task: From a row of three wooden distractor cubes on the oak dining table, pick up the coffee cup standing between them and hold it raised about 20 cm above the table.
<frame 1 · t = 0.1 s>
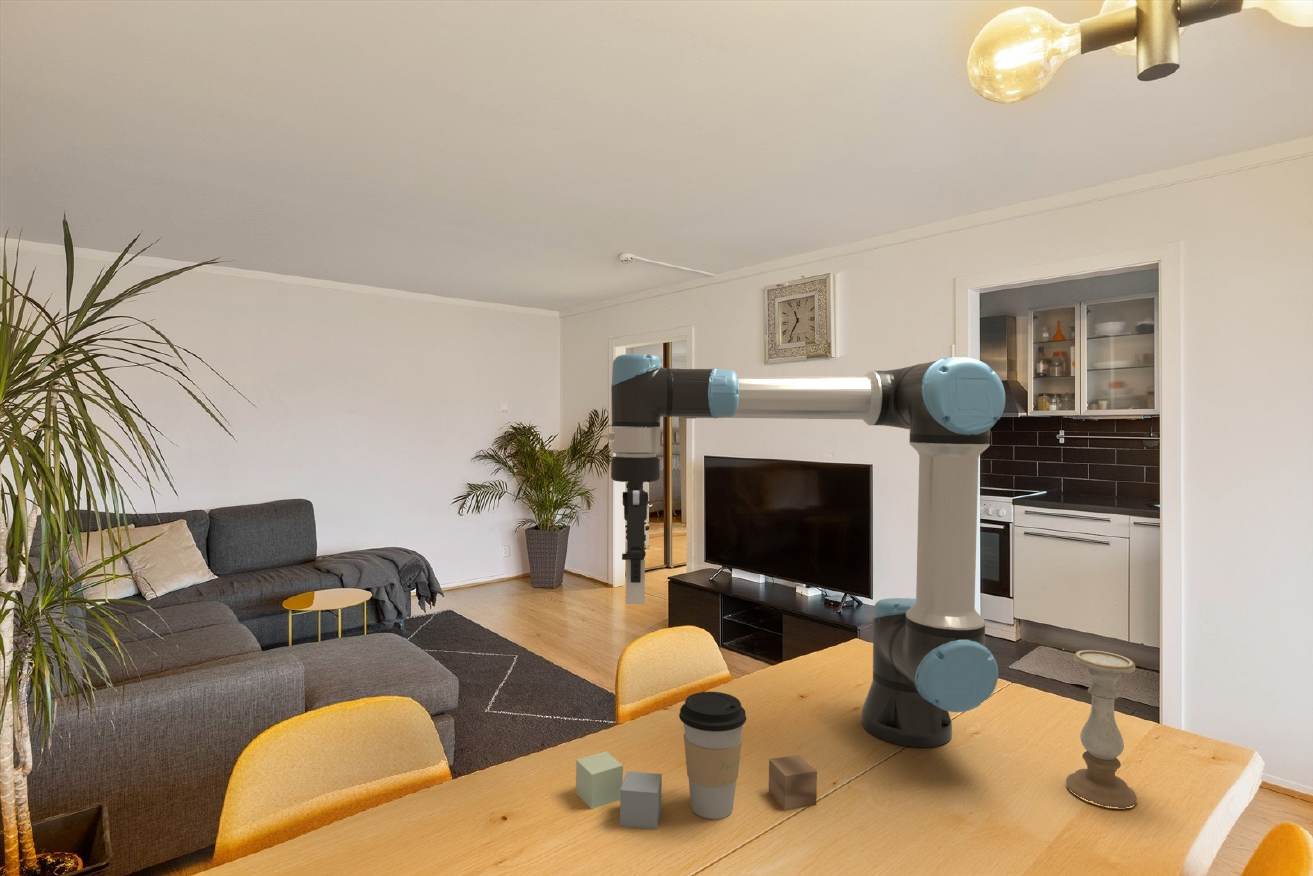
hand: (634, 592, 106), 28 cm above the table, fingers open, 13 cm apart
coffee cup: (711, 808, 97), on the table
slate cube: (641, 817, 94), on the table
candle holder: (1100, 795, 101), on the table
sage cube: (599, 796, 100), on the table
walnut cube: (792, 799, 99), on the table
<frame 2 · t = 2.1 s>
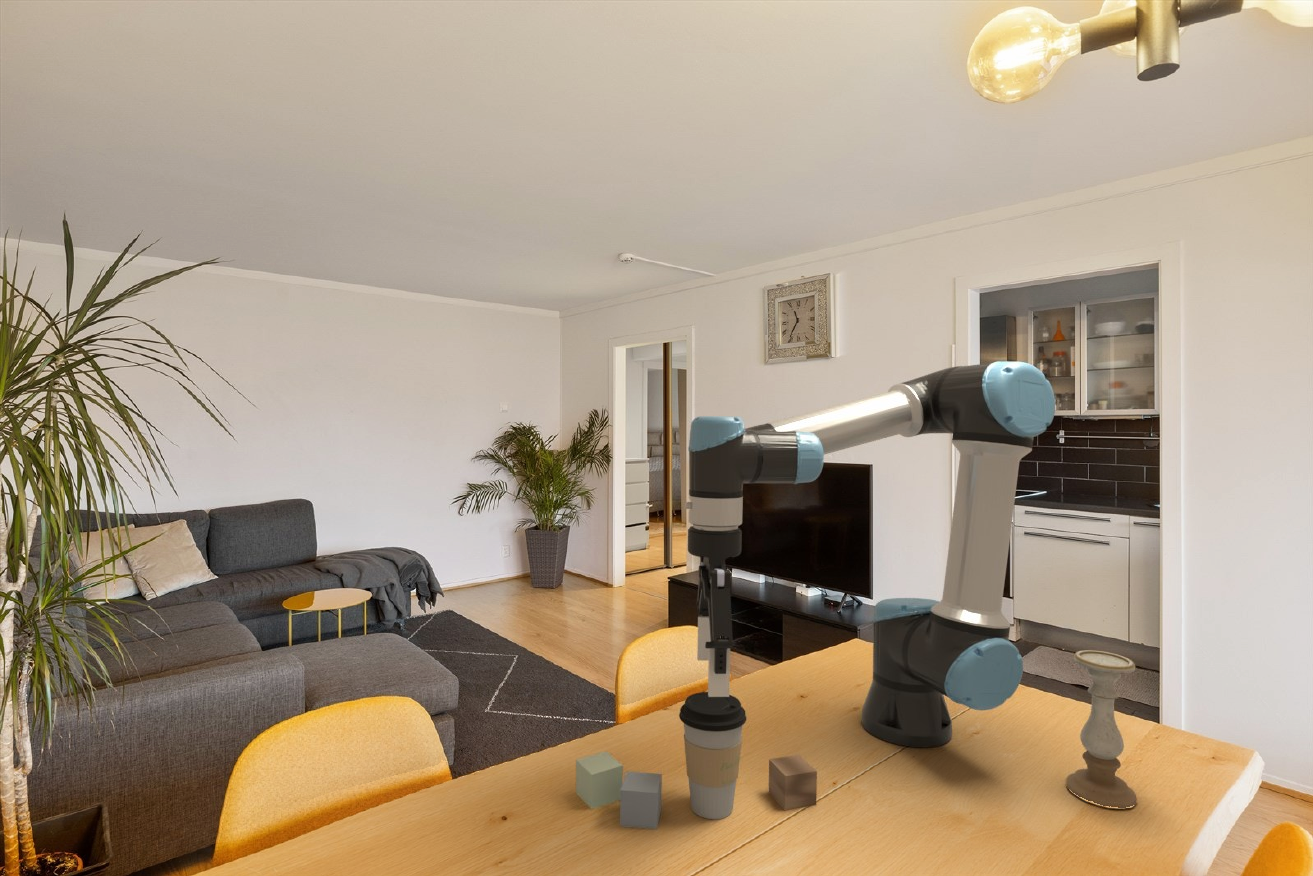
hand: (712, 676, 97), 19 cm above the table, fingers open, 13 cm apart
nothing on the table moved.
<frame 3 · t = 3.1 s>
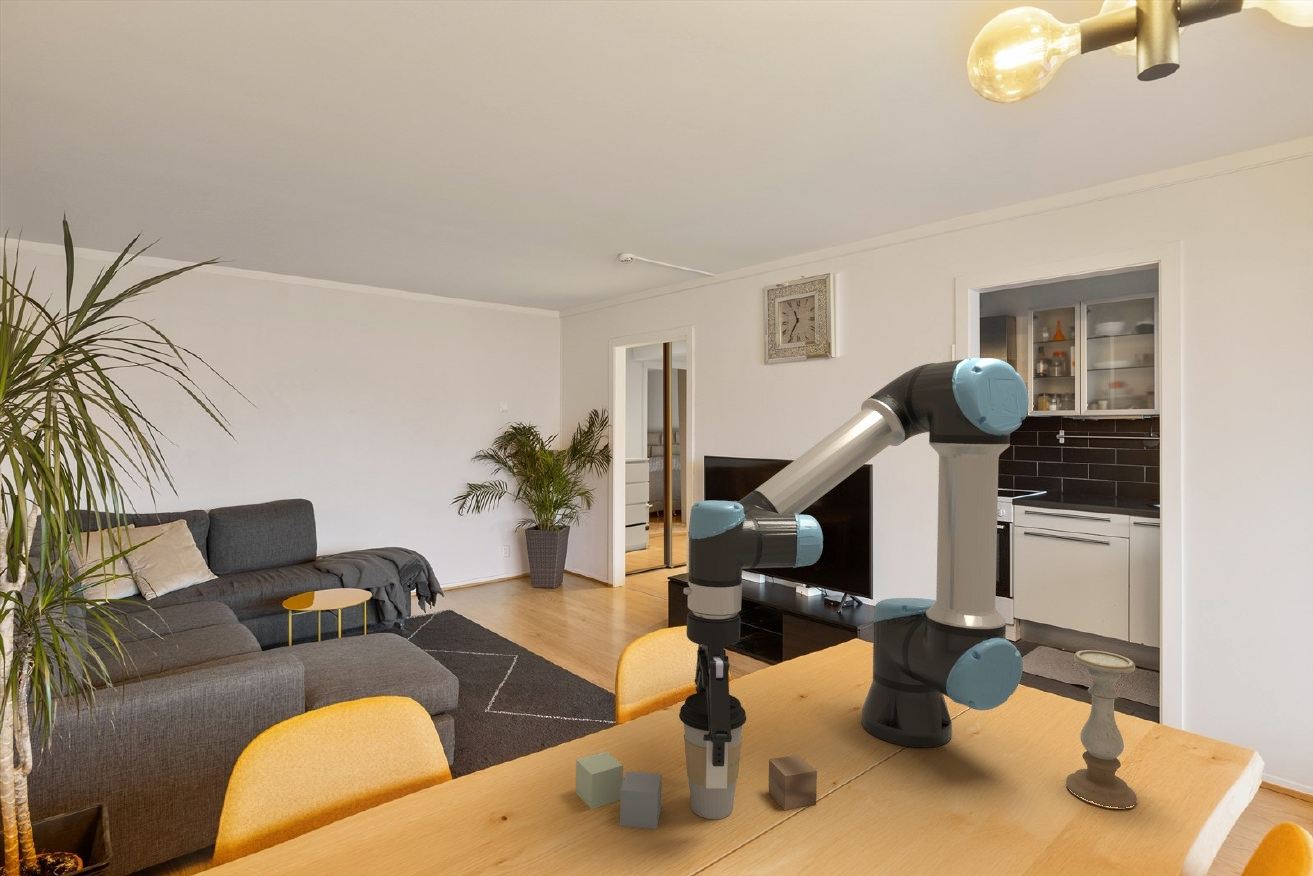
hand: (709, 761, 97), 7 cm above the table, fingers open, 13 cm apart
nothing on the table moved.
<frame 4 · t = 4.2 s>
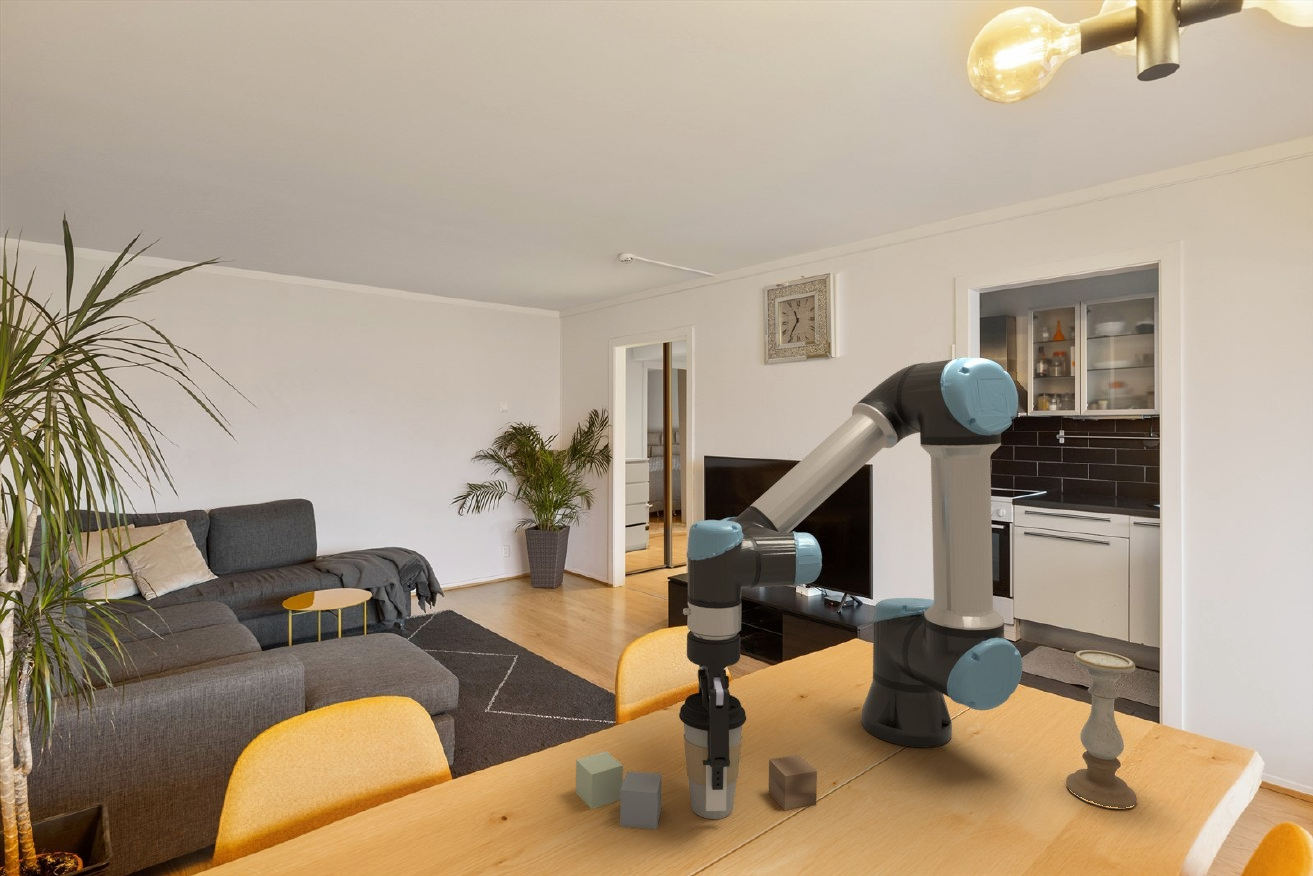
hand: (711, 791, 97), 2 cm above the table, fingers closed on coffee cup, 8 cm apart
coffee cup: (711, 808, 97), on the table, touching gripper
everything else where it was.
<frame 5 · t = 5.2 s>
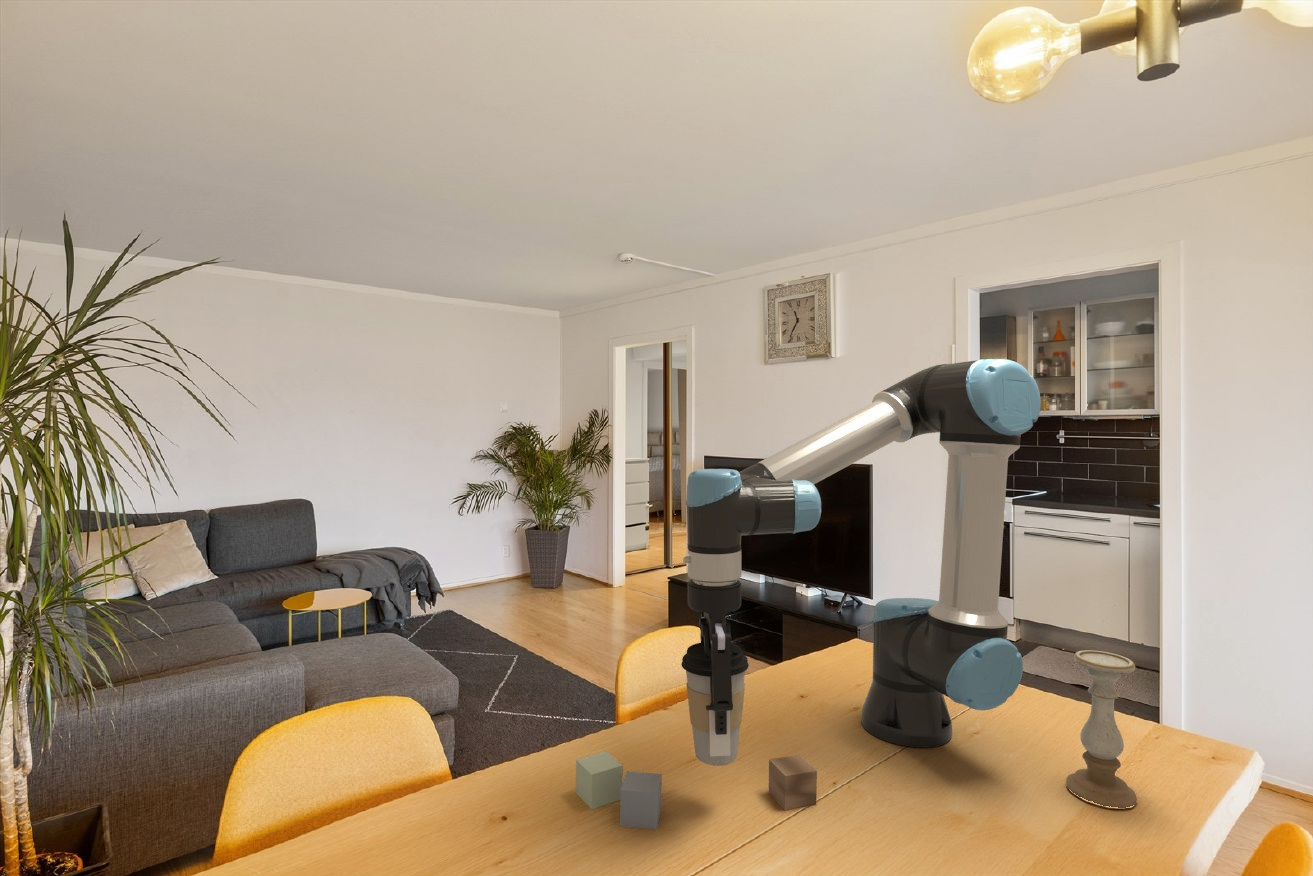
hand: (715, 739, 97), 10 cm above the table, fingers closed on coffee cup, 8 cm apart
coffee cup: (715, 756, 97), point 7 cm above the table, touching gripper
everything else where it was.
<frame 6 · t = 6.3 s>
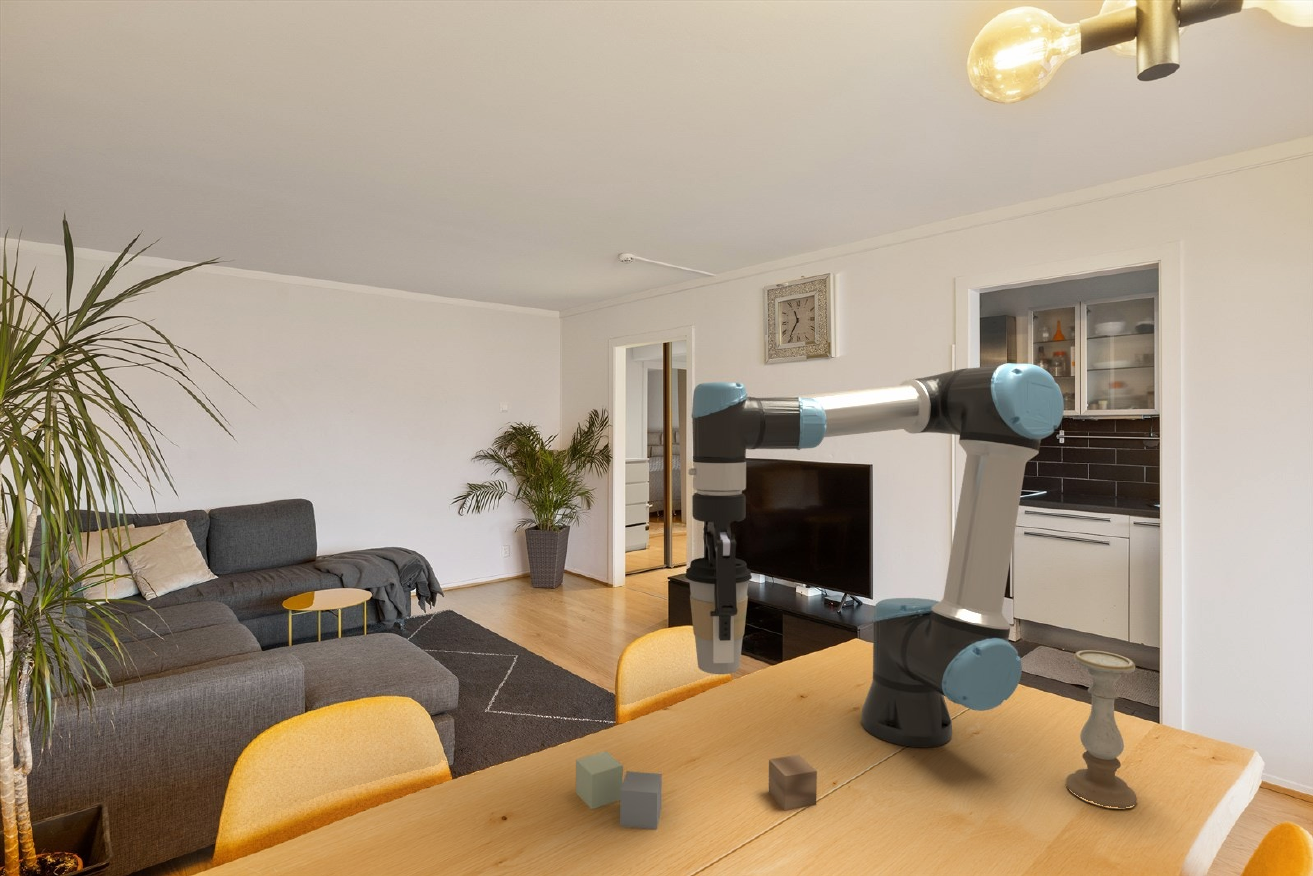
hand: (718, 650, 98), 22 cm above the table, fingers closed on coffee cup, 8 cm apart
coffee cup: (718, 668, 98), point 19 cm above the table, touching gripper
everything else where it was.
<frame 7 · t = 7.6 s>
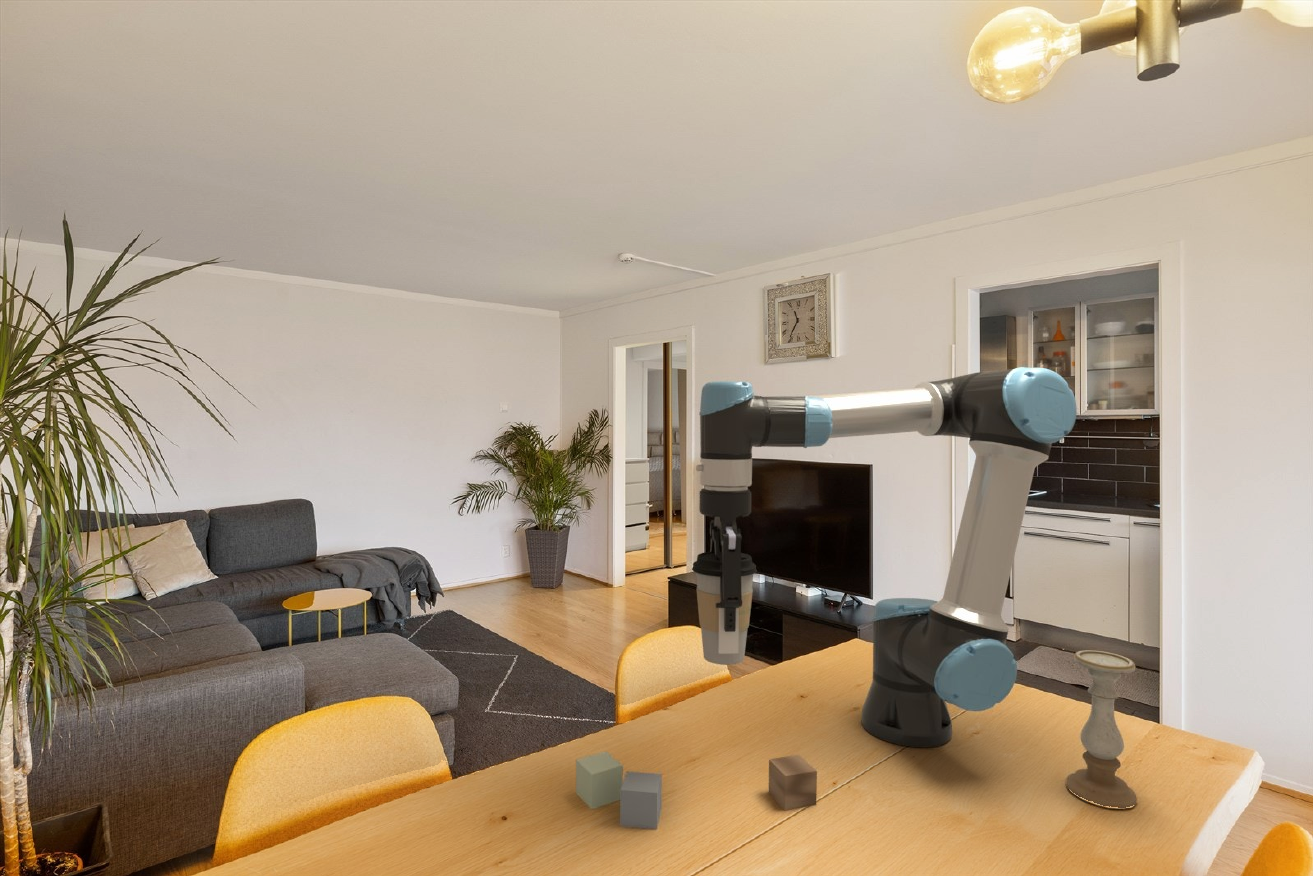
hand: (723, 642, 100), 22 cm above the table, fingers closed on coffee cup, 8 cm apart
coffee cup: (723, 659, 101), point 20 cm above the table, touching gripper
everything else where it was.
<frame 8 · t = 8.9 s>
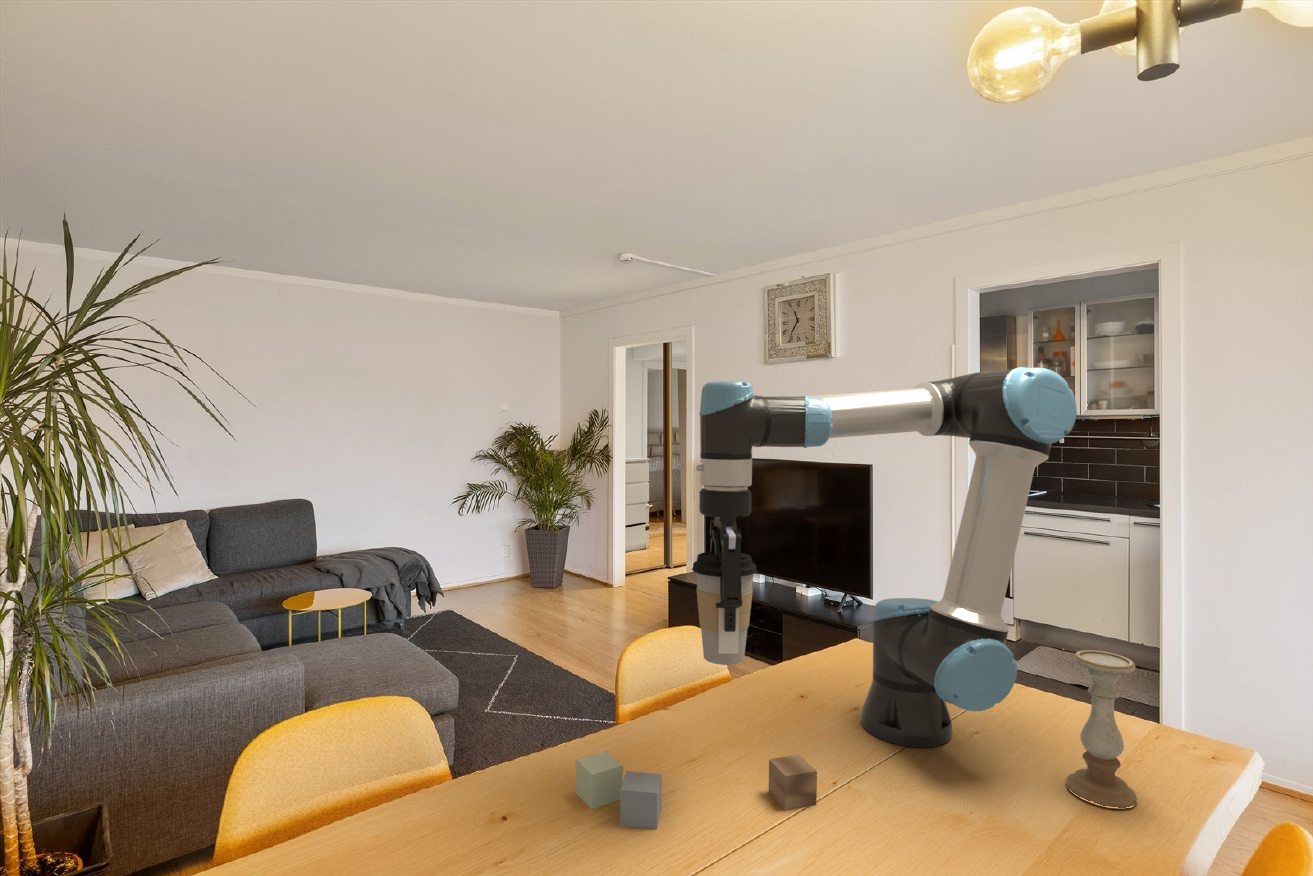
hand: (723, 642, 100), 22 cm above the table, fingers closed on coffee cup, 8 cm apart
coffee cup: (723, 659, 101), point 20 cm above the table, touching gripper
everything else where it was.
at the end: the gripper is holding coffee cup; coffee cup point 19.7 cm above the table; slate cube moved 0.1 cm from its start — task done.
